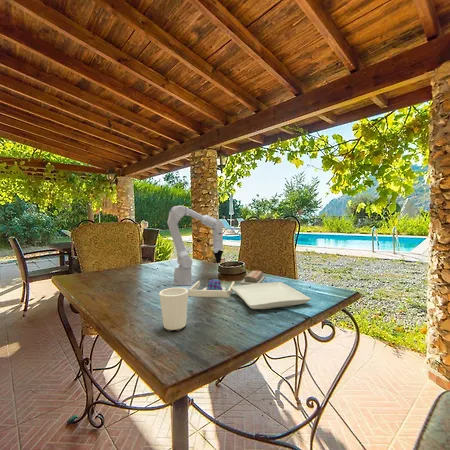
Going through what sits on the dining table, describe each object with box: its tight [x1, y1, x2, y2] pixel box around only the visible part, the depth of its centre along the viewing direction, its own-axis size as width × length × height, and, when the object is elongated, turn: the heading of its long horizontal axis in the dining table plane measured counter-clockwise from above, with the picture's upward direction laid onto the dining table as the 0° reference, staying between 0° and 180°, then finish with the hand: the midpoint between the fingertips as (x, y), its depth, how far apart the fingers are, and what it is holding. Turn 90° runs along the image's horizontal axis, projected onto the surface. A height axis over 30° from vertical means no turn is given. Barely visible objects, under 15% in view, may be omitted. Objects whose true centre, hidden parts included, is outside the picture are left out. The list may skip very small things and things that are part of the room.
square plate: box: [231, 281, 312, 310], centre depth 116 cm, size 27×27×4 cm
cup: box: [158, 286, 189, 333], centre depth 90 cm, size 10×10×13 cm
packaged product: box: [240, 270, 266, 285], centre depth 148 cm, size 18×5×10 cm
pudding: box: [202, 278, 227, 291], centre depth 133 cm, size 12×12×5 cm
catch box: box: [187, 280, 236, 299], centre depth 130 cm, size 20×17×3 cm
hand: (218, 263), depth 155 cm, fingers closed
